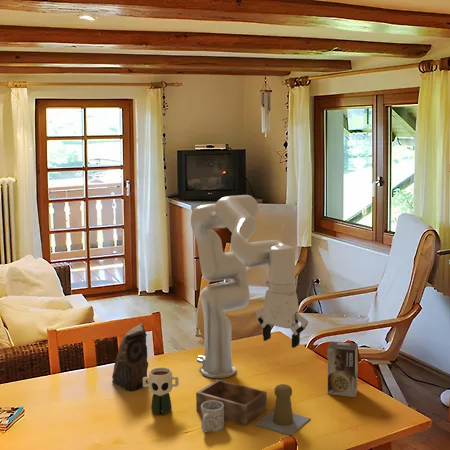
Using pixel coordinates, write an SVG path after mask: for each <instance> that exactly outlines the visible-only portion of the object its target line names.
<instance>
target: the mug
mask: <svg viewBox="0 0 450 450" xmlns="http://www.w3.org/2000/svg"><path fill="white" fill-rule="evenodd" d="M200 422H201V424H200V425H201V431H202V433H207V432H208V433H217V432H221V431H223V430H224V428H225V419H224V404H223V403H222V402H220V401H206V402H204V403H202V404H201V412H200Z"/></svg>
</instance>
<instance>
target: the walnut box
mask: <svg viewBox="0 0 450 450" xmlns="http://www.w3.org/2000/svg"><path fill="white" fill-rule="evenodd" d="M267 395H268V394H267V391H263V390H260V389H256V388H253V387H249V386H244V385H241V384H237V383H233V382H229V381H226V380H222V379H220V378H217V379H216V380H215V381H213V382H212V383H210V384H208V385H207V386H205V387H203V388H201V389H199V390H198V391H196V392H195V398H196V399H195V400H196V401H195V402H196V404H195V405H196V406H195V407H196V408H195V409H196V412H199V413H201V404H202V403H204V402H206V401H220V402H222V403H223V404H224V421H229V422H232V423H234V424H237V425H241V426H244V427H246V426H247V425H249V424H250V423H253V421H254V420H256V419H257V418H258V417H260V416H261V415H262V414H264V413H265V412H266V411H267V407H268V406H267V402H268V401H267Z"/></svg>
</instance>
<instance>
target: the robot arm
mask: <svg viewBox="0 0 450 450" xmlns="http://www.w3.org/2000/svg"><path fill="white" fill-rule="evenodd" d="M258 214H259V204H258V202H257V200H256V199H255V198H254V197H253V196H252V195H249V194H241V195H240V194H239V195H228V196H223V197H221V198H220V199H218V200H217V201H216V203H208V204H202V205H198V206H196V207H195V208H193V210H192V211H191V215H190V226H191V230H192V233H193V235H194V237H195V241H196V244H197V251H198V259H199V264H200V271H201V275H202V277H203V279H204V280H205V281H206V282H219V281H225V280H230V282H228V283H221V284H214V285H210V286H207V287H206V288H204V289H203V290H202V292H201V294H200V302H201V308H202V312H203V313H202V314H203V329H204V355H202V354H200V355H198V356H197V361H196V362H197V363H198V364H201V365H202V366H201V367H200V373H201V375H203V376H205V377H208V378H212V379H223V378H224V379H226V378H228V377H232V376H233V375H235V374H236V373H237V367H236V366H235V365H234V364H233V363H232V362H233V361H232V360H233V359H232V357H233V356H232V353H233V351H232V348H233V347H232V322H231V320H230V318H229V317H228V316H227V315H226V312H229V311H235V310H240V309H244V308H246V307H247V306H248V305H249V303H250V300H251V299H250V289H249V280H248V274H247V273H248V272H247V268H251V269H253V268H261V267H267V266H268V280H266V281H265V286H268V289H267V290H266V291H265V295H264V299H263V308H260V309H258V310H256V311H255V315H256V317H257V320H258V322H259V324H261V325H260V326H261V328H262V338H263V339H262V340H263V342H264V341H265V342H266V341H268V340H270V339H271V338H272V334H271V333H272V331H271V329H272V327H271V326H274V327H278V328H284V329H290V330H291V332H292V334H291V348H293V349H295V348H297V346H299V345H300V343H301V342H300V339H301V334H302V332H304V330H306V328H307V326H308V324H309V321H308V319H306V318H305V317H303V316H302V315H301V314H300V313H299V312H300V307H299V299H298V294H297V292H295V289H296V288H295V285H296V281H295V280H296V278H295V277H296V250H295V248H294V247H293V246H291V245H287V244H285V243H284V242H283V241H281V240H279V239H269V240H261V241H251V242H249V241H247V240H248V239H249V238H250V237H252V235H254V233H255V232H256V229H257V228H258V227H257V226H258V224H257V220H256V218H257V216H258ZM221 228H222V229H223V228H227V229H228V230H229V232H231V236H230V245H231V251H227V252H224V248H223V244H222V238H221V237H220V236H219V235H218V233H217V232H216V231H215V230H213V229H221ZM299 323H301V324H300V325H299Z"/></svg>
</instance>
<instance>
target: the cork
mask: <svg viewBox="0 0 450 450" xmlns="http://www.w3.org/2000/svg"><path fill="white" fill-rule="evenodd" d="M274 395H275V397H276V398H275V403H274V409H275V410H274V409H273V410H274V417H273V422H274V423H275V424H277V425H281V426H287V425H291V424H292V423H293V414H292V413H293V408H292V402H291V397H292V395H293V389H292V387H291V385H289V384H285V383H280V384H278V385H275V387H274Z"/></svg>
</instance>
